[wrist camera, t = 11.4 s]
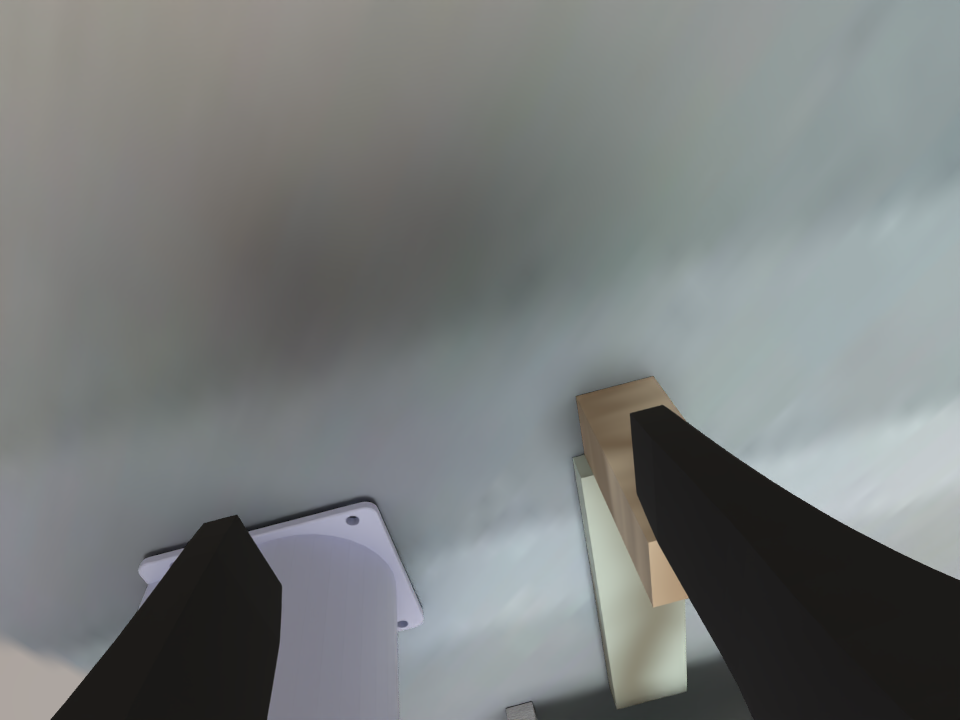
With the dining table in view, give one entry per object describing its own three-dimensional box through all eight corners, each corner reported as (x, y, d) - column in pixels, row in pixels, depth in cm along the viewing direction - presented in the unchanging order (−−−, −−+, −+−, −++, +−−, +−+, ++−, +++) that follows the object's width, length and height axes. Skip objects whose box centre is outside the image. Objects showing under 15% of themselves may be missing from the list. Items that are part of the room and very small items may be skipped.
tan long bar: (609, 688, 33) (659, 837, 27) (563, 399, 22) (630, 547, 16) (677, 670, 33) (742, 815, 27) (666, 373, 22) (771, 510, 16)
